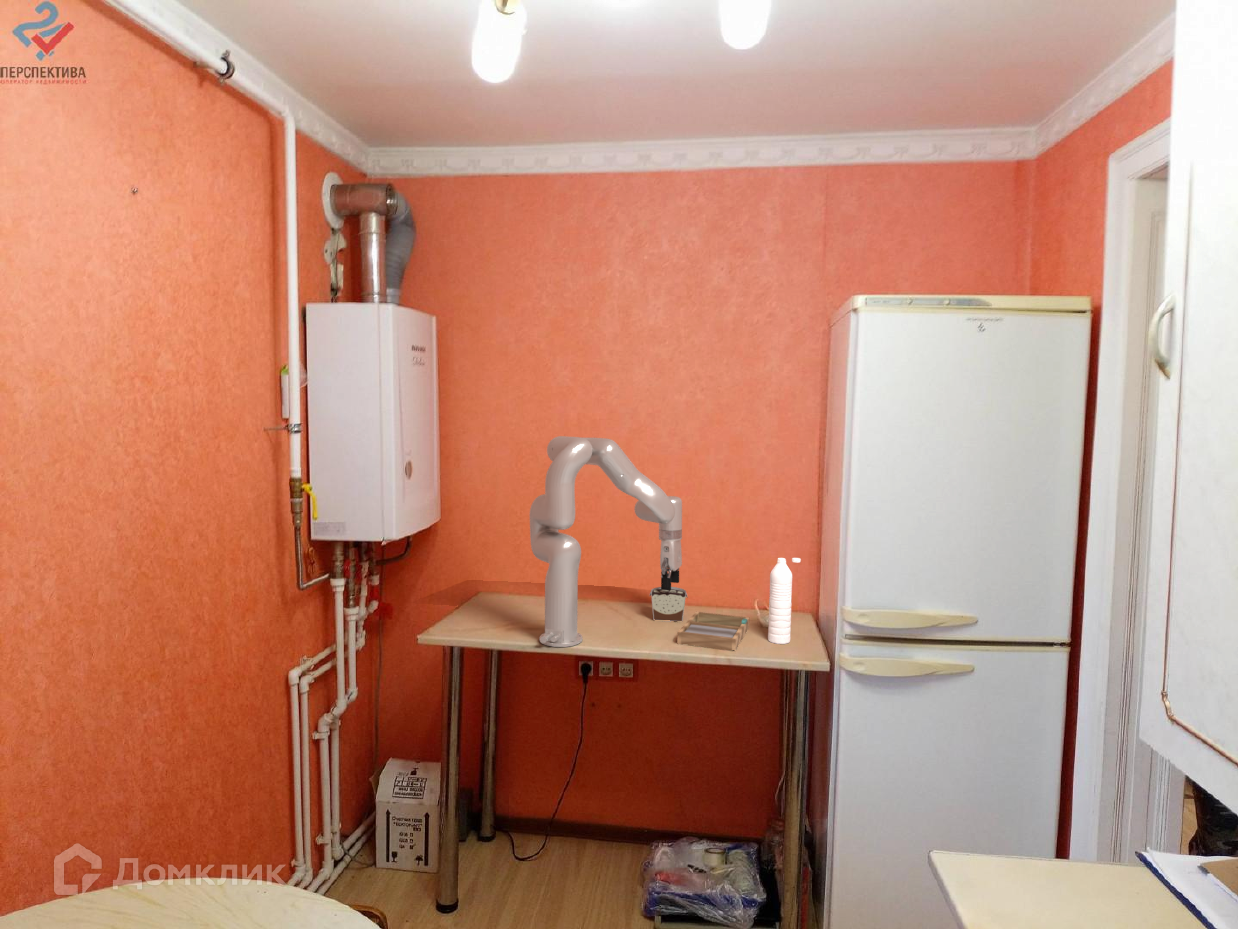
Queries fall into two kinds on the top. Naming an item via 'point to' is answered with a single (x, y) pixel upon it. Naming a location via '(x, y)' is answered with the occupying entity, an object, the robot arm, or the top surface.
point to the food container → (668, 603)
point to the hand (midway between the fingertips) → (670, 586)
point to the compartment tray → (714, 631)
